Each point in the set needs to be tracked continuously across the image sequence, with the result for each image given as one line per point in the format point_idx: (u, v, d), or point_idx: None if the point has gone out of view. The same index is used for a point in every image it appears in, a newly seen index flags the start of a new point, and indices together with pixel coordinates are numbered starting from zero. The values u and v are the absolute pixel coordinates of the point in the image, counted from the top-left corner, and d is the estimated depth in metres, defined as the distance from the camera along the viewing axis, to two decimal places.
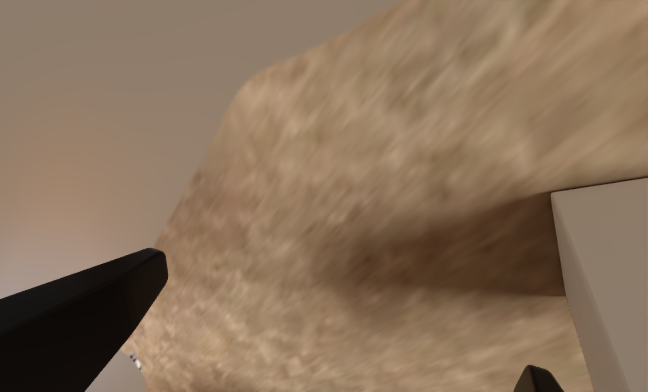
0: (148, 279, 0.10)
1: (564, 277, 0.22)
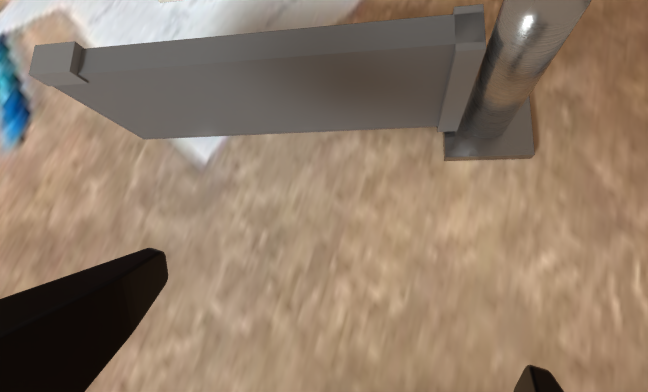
0: (148, 279, 0.10)
1: None
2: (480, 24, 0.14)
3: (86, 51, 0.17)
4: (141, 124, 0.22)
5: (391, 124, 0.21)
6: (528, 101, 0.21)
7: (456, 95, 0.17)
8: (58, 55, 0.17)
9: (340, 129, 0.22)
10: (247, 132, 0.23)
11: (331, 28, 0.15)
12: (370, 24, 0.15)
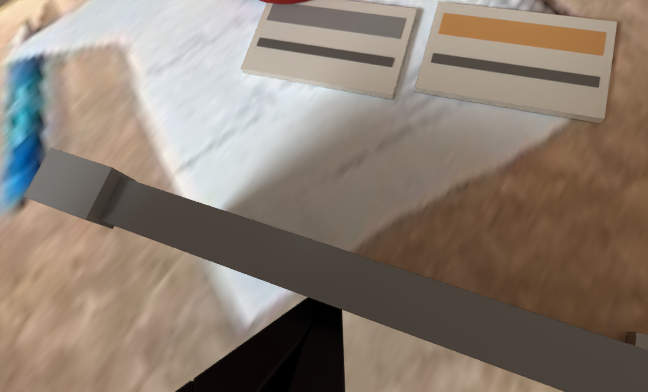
0: None
1: None
2: None
3: (125, 184, 0.10)
4: None
5: None
6: None
7: None
8: (78, 181, 0.10)
9: None
10: None
11: (582, 335, 0.08)
12: None
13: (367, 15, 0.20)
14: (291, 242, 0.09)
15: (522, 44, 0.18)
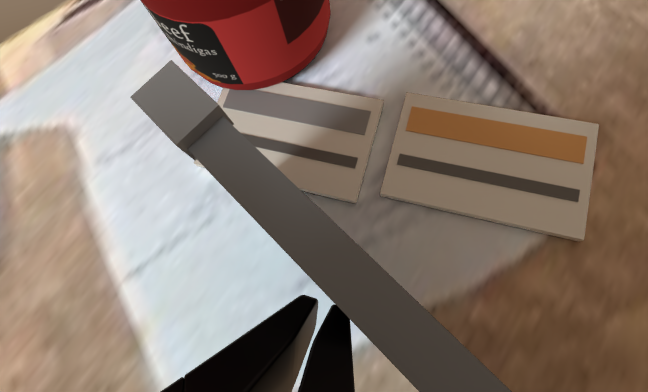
0: (307, 332, 0.09)
1: None
2: None
3: (224, 125, 0.10)
4: None
5: None
6: None
7: None
8: (183, 105, 0.10)
9: None
10: None
11: None
12: None
13: (330, 106, 0.19)
14: (358, 258, 0.08)
15: (495, 146, 0.17)
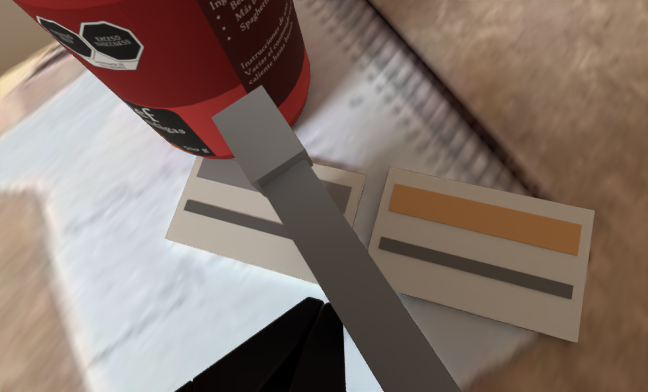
0: None
1: None
2: None
3: (305, 170, 0.09)
4: None
5: None
6: None
7: None
8: (266, 140, 0.09)
9: None
10: None
11: None
12: None
13: None
14: (429, 364, 0.07)
15: (483, 232, 0.16)
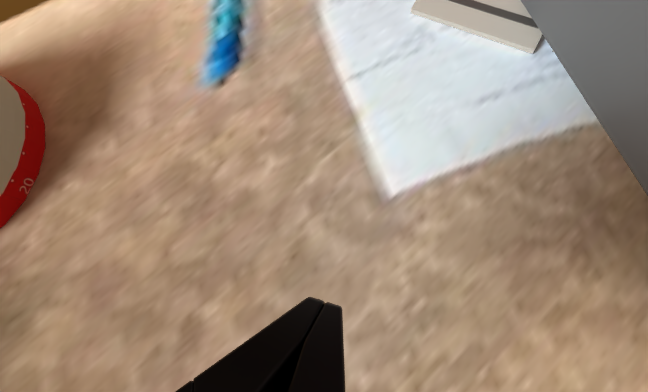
0: None
1: None
2: None
3: None
4: None
5: None
6: None
7: None
8: None
9: (631, 166, 0.20)
10: (577, 79, 0.22)
11: None
12: None
13: None
14: None
15: None
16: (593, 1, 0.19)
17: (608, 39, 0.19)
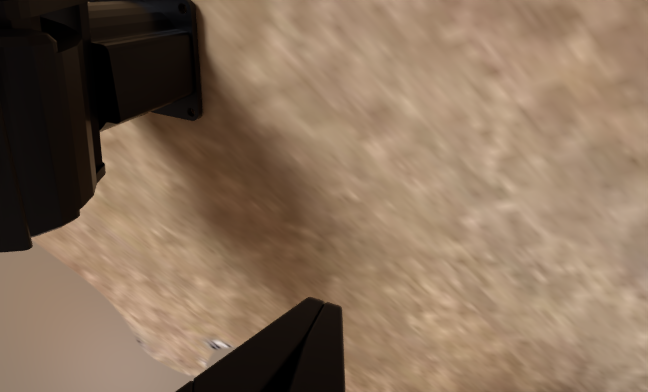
0: None
1: None
2: None
3: None
4: None
5: None
6: None
7: None
8: None
9: None
10: None
11: None
12: None
13: None
14: None
15: None
16: None
17: None
